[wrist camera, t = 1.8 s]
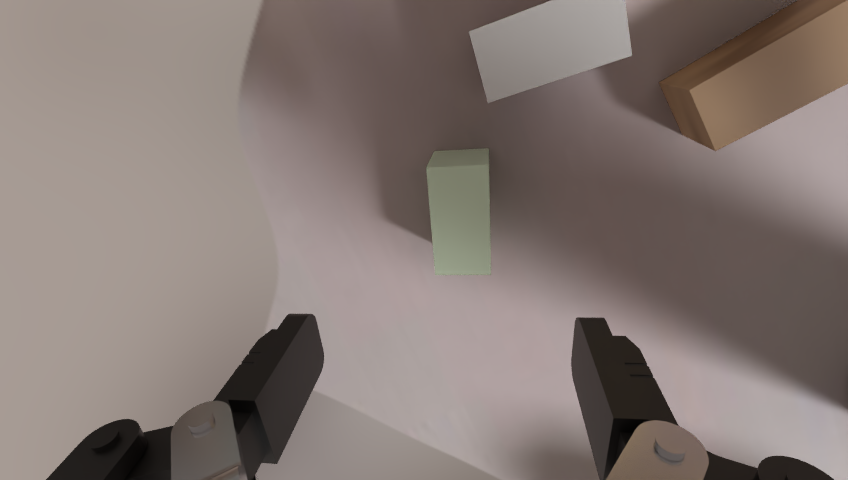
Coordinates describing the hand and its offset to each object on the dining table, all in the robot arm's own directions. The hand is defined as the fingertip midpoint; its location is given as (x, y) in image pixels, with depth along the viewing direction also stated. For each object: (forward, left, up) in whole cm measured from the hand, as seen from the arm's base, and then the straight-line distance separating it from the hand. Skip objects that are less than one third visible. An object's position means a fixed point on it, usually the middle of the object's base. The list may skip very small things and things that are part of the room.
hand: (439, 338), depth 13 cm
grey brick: (-4, -8, -13) cm, 15 cm away
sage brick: (0, 0, -13) cm, 13 cm away
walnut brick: (-13, -6, -13) cm, 19 cm away
